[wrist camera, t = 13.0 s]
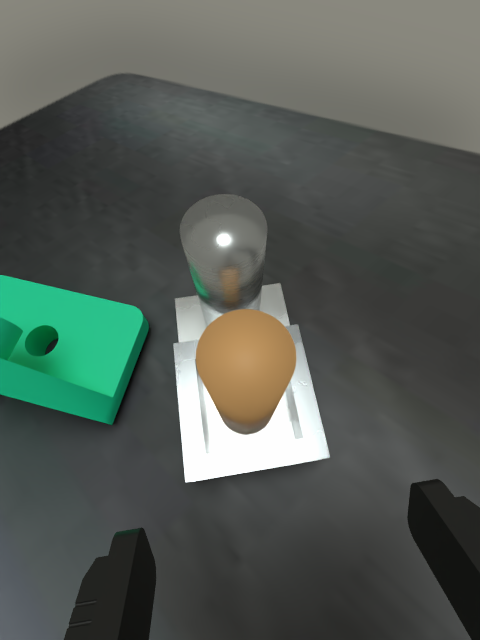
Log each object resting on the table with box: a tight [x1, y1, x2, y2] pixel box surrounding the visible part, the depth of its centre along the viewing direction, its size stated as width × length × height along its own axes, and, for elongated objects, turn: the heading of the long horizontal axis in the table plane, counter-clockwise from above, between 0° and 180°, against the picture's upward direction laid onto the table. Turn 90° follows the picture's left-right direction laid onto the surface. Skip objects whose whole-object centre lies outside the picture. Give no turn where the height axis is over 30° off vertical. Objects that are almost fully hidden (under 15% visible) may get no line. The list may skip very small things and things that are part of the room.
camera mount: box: [0, 275, 149, 425], centre depth 20 cm, size 12×8×10 cm, turn 76°
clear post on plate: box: [173, 194, 330, 482], centre depth 19 cm, size 12×8×11 cm, turn 9°
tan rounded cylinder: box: [196, 309, 296, 435], centre depth 17 cm, size 4×4×11 cm
